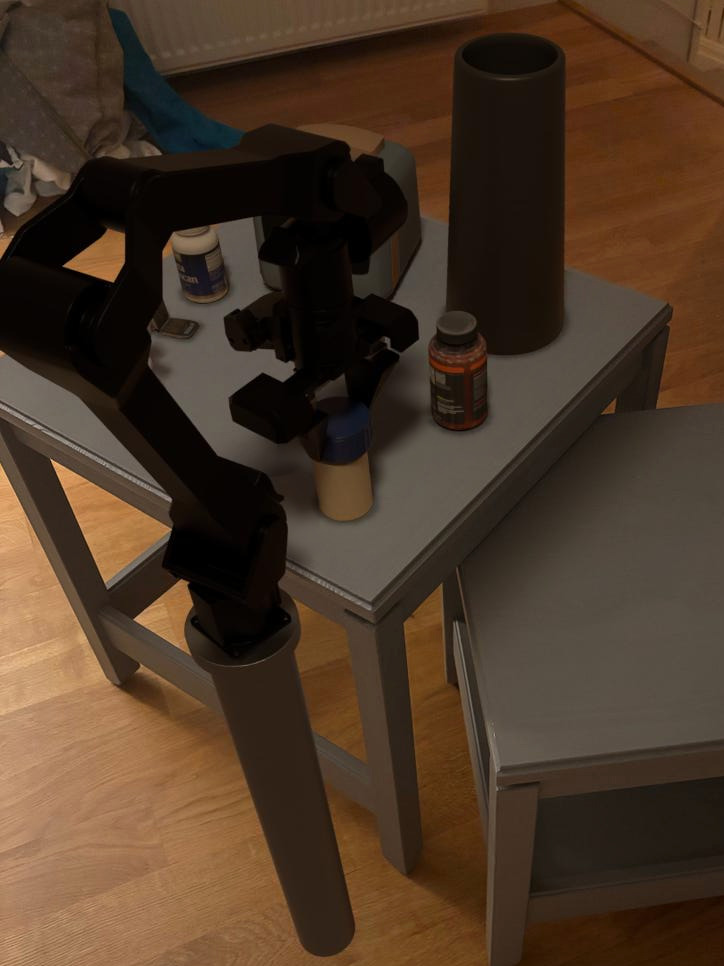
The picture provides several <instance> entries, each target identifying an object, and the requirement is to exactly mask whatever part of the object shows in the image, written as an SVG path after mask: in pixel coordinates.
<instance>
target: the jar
mask: <svg viewBox="0 0 724 966" xmlns="http://www.w3.org/2000/svg"><path fill="white" fill-rule="evenodd" d="M311 464H312V469H313V476H314V483H315V488H316V494H317V500H318V501H317V502H318V506H319V509H320V511H321V512H322V514H323V515H325V516H326V518H329V519H331V520H334V521H338V522H348V521H350V522H351V521H354V520H357V519H360V518H361V517H363V516H365V515H366V514H368V513H369V511H370V510H371V508H372V506H373V492H372V483H371V473H370V463H369V455H368V451H367V452H366V453H365V454H364V455H363V456H361V457H359V458H357V459H355V460H352V461H349V462H343V463H332V462H326V461H323V460H322V461H320V462H316V461H314V460H312V459H311Z"/></svg>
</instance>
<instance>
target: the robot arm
mask: <svg viewBox="0 0 724 966" xmlns="http://www.w3.org/2000/svg"><path fill="white" fill-rule="evenodd" d="M350 151H351V148H350V146H349V144H347V143H346V142H345V141H341V140H337V139H333V138H329V137H325V136H321V135H317V134H313V133H309V132H305V131H301V130H297V128H293V127H289V126H285V125H282V124H277V123H273V122H271V123H266V124H264V125H261V126H259V127H257V128H256V127H255V128H254V129H252V130H249V131H247V132H244V133H243V134H242V135H241V136H240V138H239V141H238V144H236V145H234V146H231V147H229V148H217V149H208V150H198V151H197V150H196V151H187V152H177V153H168V154H167V153H165V154H156V155H145V156H135V157H125V158H119V157H114V156H110V155H103V156H100V157H93V158H90V159H87V161H85V162H84V164H83V165H82V166H81V167H80V168H79V170H78V171H77V174H76V175H75V177H74V179H73V180H72V182H71V184H70V185H69V187H68V188H67V191H66V192H65V193H64V194H62V195H61V196H60V197H58V198H57V199H56V200H54V201H53V202H51V203H50V204H49V205H47V206H46V207H45V208H43V209H42V210H41V211H40V212H38V213H37V214H36V215H34V216H33V217H31V218H30V219H29V220H27V221H26V222H24V223H23V224H21V226H20V227H19V228H18V229H17V230H16V232H15V234H14V235H13V237H12V239H11V240H10V242H9V244H8V245H7V247H6V249H5V250H4V252H3V254H2V255H1V257H0V351H1V352H2V354H3V353H4V354H5V355H6V356H8V357H9V358H11V359H12V360H13V361H15V362H16V363H18V364H20V365H21V366H23V367H24V368H26V369H27V370H29V371H31V372H32V373H33V374H36V375H37V376H40V377H42V378H43V379H45V380H47V381H48V382H50V383H52V384H54V385H56V386H59V387H60V388H62V389H64V390H65V391H68V392H70V393H71V394H72V395H74V396H75V397H77V398H78V399H79V400H80V401H81V402H82V403H83V404H84V405H85V406H86V408H87V409H89V411H91V413H92V414H93V415H94V416H95V417H96V418H97V419H98V420H99V421H100V422H101V424H102V425H103V426H104V427H105V428H106V429H107V430H108V431H109V432H110V433H111V434H112V436H113V437H114V438H115V439H116V440H117V441H118V442H119V443H120V444H121V445H122V446H123V447H124V449H126V450H127V452H128V453H129V454H130V455H131V456H132V457H133V458H134V459H135V460H136V462H137V463H138V464H139V465H140V466H141V467H142V468H143V469H144V470H145V471H146V472H147V473H148V474H149V476H150V477H152V479H153V481H155V482H156V483H157V484H158V485H159V487H161V489H162V490H163V491H164V492H165V493H166V494H167V495H168V496H169V497H170V499H171V500H170V504H169V508H168V512H167V513H168V517H169V519H170V521H171V522H172V526H171V531H170V534H169V538H168V541H167V545H166V548H165V551H164V555H163V558H162V562H161V568H162V569H163V570H164V571H165V572H166V573H167V574H168V575H169V576H170V577H172V578H174V579H179V580H182V581H184V582H187V585H186V587H187V589H188V592H189V596H190V599H191V602H192V606H193V605H194V608H195V611H196V615H195V616H193V617H192V618H191V620H190V622H191V625H192V626H193V627H194V628H195V629H196V630H197V631H199V632H200V633H201V634H202V635H203V636H204V637H206V638H207V639H208V640H209V641H210V642H211V643H213V644H214V645H215V646H216V647H217V648H218V649H220V650H221V651H222V652H223V653H224V654H226V655H227V656H228V657H229V658H230V659H231V660H233V661H239V660H241V659H242V658H243V657H245V656H246V655H247V654H249V653H250V652H252V651H253V650H254V649H256V648H257V647H258V646H260V645H261V644H262V643H264V642H265V641H267V640H268V639H269V638H271V637H272V636H273V635H275V634H276V633H277V632H279V631H280V630H282V629H283V628H284V627H286V626H287V625H288V624H290V623H291V621H292V619H291V616H290V614H288V613H287V612H286V611H285V610H283V609H282V608H281V607H280V606H279V605H280V604H281V603H282V599H281V594H280V590H279V587H280V586H279V582H281V580H282V578H283V577H284V576H285V575H286V570H287V556H288V554H287V553H288V541H289V539H288V538H289V525H288V516H287V513H286V512H287V511H286V510H285V507H284V505H283V504H282V502H283V501H284V500H285V498H286V496H285V494H284V495H283V494H280V493H279V492H278V491H277V490H276V488H275V486H274V484H273V482H272V479H271V477H269V476H268V475H267V473H265V472H264V471H262V470H260V469H257V468H253V467H250V466H248V465H246V464H243V463H240V462H237V461H234V460H231V459H230V458H226V457H223V456H220V455H218V453H216V451H215V450H214V448H213V447H212V446H211V445H210V443H209V442H208V441H207V439H206V438H205V437H204V435H203V434H202V433H201V432H200V430H199V429H198V428H197V426H196V425H195V424H194V423H193V421H192V420H191V419H190V418H189V416H188V415H187V413H186V412H185V411H184V410H183V409H182V407H181V406H180V405H179V403H178V402H177V401H176V399H175V398H174V397H173V395H172V394H171V393H170V392H169V390H168V389H167V388H166V386H165V385H164V384H163V383H162V380H160V378H159V377H158V376H157V375H156V374H155V372H154V371H153V369H152V370H151V368H150V367H149V365H148V361H149V356H150V355H151V349H152V343H153V340H152V335H151V336H150V333H149V331H148V329H147V327H148V326H149V324H150V322H151V320H152V318H153V316H154V315H155V313H156V311H157V309H158V307H159V306H160V304H161V302H162V298H163V299H164V269H163V268H164V266H163V263H164V260H163V259H164V257H163V255H164V250H165V248H166V246H167V245H168V242H169V240H171V235H172V234H173V232H177V231H183V230H188V229H193V228H199V227H204V226H215V225H219V224H220V225H221V224H224V223H231V222H235V221H236V222H237V221H240V220H246V219H251V218H252V219H253V217H257V216H262V215H268V214H273V215H280V216H285V217H290V219H289V220H288V221H286V222H285V223H284V224H283V225H282V226H281V227H280V226H276V225H274V226H273V227H272V230H271V233H270V235H269V237H268V238H267V239H266V240H265V241H264V242H263V243H262V245H261V247H260V250H259V252H257V259H259V260H260V261H263V262H267V263H270V264H273V265H277V266H278V270H279V276H280V282H281V288H282V290H281V291H272V292H268V293H265V294H263V295H262V296H260V297H259V298H257V299H255V300H254V301H252V302H251V303H250V304H248V305H246V306H245V307H243V308H242V309H240V308H235V309H234V310H231V311H230V312H229V313H227V314H226V315H224V316H222V317H223V318H222V319H223V327H224V332H225V336H226V339H227V341H228V343H229V345H230V347H231V348H232V349H233V350H234V351H236V352H243V353H252V352H253V351H254V352H256V351H257V350H269V351H270V350H272V351H274V355H275V359H276V360H278V361H280V362H282V363H284V364H288V363H289V362H292V363H293V364H294V367H293V369H292V371H293V374H292V375H290V376H289V377H288V378H286V379H285V380H284V381H282V380H280V379H277V378H275V377H273V376H271V375H269V374H267V373H265V372H261V373H259V374H258V375H257V376H255V377H254V378H253V379H251V380H250V381H249V382H247V383H246V384H244V385H243V386H242V387H240V388H238V389H237V390H236V391H234V393H232V394H231V395H230V396H229V397H227V398H228V409H229V412H230V416H231V420H232V422H233V423H235V424H237V425H238V426H240V427H243V428H244V429H246V430H248V431H250V432H252V433H254V434H256V435H258V436H260V437H262V438H264V439H266V440H267V441H269V442H272V443H274V444H276V445H277V446H278V445H286V444H287V445H288V444H289V443H291V442H292V441H293V440H294V439H297V441H298V442H299V444H300V445H301V447H302V448H303V450H304V451H305V453H306V454H307V455H308V457H309V459H311V461H312V460H314V461H316V462H320V461H322V457H323V454H324V449H325V441H326V433H327V426H328V418H329V414H327V413H325V412H323V411H321V410H319V409H317V408H316V402H317V396H316V394H317V393H318V392H320V391H321V390H323V389H324V388H325V387H326V386H327V385H329V384H330V383H332V382H335V381H337V380H338V379H339V378H340V377H341V376H344V382H345V388H346V394H347V397H351V398H354V399H357V400H359V401H361V402H362V403H363V404H365V405H366V407H367V408H368V410H369V412H370V414H371V413H372V411H373V409H374V407H375V405H376V402H377V400H378V398H379V396H380V395H381V392H382V390H383V388H384V387H385V385H386V383H387V381H388V379H389V377H390V375H391V373H392V371H393V370H394V368H395V366H396V365H397V364H399V362H400V359H401V356H400V354H403V353H404V352H406V350H408V349H409V348H410V347H412V346H413V345H414V344H415V343H417V342H418V341H419V340H420V327H419V325H420V324H419V320H418V317H417V316H416V315H415V313H414V312H413V310H411V309H410V308H408V307H405V306H403V305H401V304H399V303H397V302H393V301H391V300H389V299H388V298H386V299H384V298H382V297H379V296H377V295H375V294H372V293H371V294H370V295H368V296H367V297H365V298H364V299H362V298H359V297H357V296H355V295H354V290H353V280H352V270H351V263H357V264H358V263H362V262H364V261H366V260H368V259H369V258H370V257H371V256H372V255H373V254H374V253H375V252H376V251H377V250H378V249H379V248H380V247H381V246H382V245H383V244H384V243H385V242H386V241H388V240H389V239H390V238H391V237H392V236H393V235H394V234H395V233H396V232H397V231H398V230H399V229H400V228H401V227H402V226H403V224H404V223H405V222H406V219H407V216H408V202H407V200H406V199H405V197H404V194H403V192H402V190H401V188H400V187H399V185H398V184H397V183H396V181H395V180H394V179H393V178H392V177H391V176H390V175H389V174H387V173H386V172H385V171H384V159H383V158H380V157H376V156H372V155H368V154H364V153H362V154H361V155H360V156H359V157H358V158H356V159H355V161H352V160H351V155H350ZM108 230H110V231H114V232H118V233H120V234H124V262H123V265H122V266H121V268H120V270H119V272H118V274H117V275H116V277H115V279H114V280H113V281H110V280H107V279H104V278H102V277H98V276H94V275H91V274H88V273H85V272H82V271H79V270H75V269H73V268H69V267H67V266H65V265H67V264H68V263H69V262H71V260H73V259H74V258H76V257H77V256H78V255H80V254H81V253H82V252H84V251H86V250H87V249H88V248H89V247H91V246H92V245H93V244H95V243H96V242H97V241H99V240H100V239H101V238H103V236H104V235H105V234H106V233H107V231H108ZM259 260H258V261H259ZM386 338H387V339H388V340H389V344H390V345H389V347H390V349H389V348H388V343H387V342H386ZM391 349H392V350H391ZM393 350H394V351H393ZM285 618H287V619H286V620H284V619H285ZM195 621H198V622H195ZM236 654H238V655H237V656H234V655H236Z"/></svg>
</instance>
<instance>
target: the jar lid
mask: <svg viewBox="0 0 724 966" xmlns="http://www.w3.org/2000/svg"><path fill="white" fill-rule="evenodd" d="M315 402H316V408H317V409H319V410H321V411H323V412H325V413H327V414H329V418H328V426H327V433H326V441H325V449H324V454H323V457H322V460H323V461H326V462H332V463H343V462H349V461H352V460H355V459H357V458H359V457H361V456H363V455H364V454H365V453H366V452H367V453H368V452H369V450H370V449H371V447H372V445H373V442H374V439H373V437H374V432H373V423H372V422H373V421H372V417H371V413H370V412H369V410H368V408H367V407H366V405H365V404H363V403H362V402H361V401H359V400H357V399H354V398H351V397H348V396H344V395H343V396H341V395H338V396H337V395H335V396H329V397H325V398H322V399H319V400H316V401H315Z"/></svg>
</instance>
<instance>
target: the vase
mask: <svg viewBox="0 0 724 966" xmlns="http://www.w3.org/2000/svg"><path fill="white" fill-rule="evenodd" d="M566 59H567V57H566V53H565V51H564V50H563V49H562V47H560V46H559V45H558V44H557V43H555V42H554V41H552V40H551V39H548V38H545V37H542V36H540V35H535V34H531V33H524V32H511V31H510V32H495V33H487V34H482V35H479V36H476V37H473V38H470V39H468V40H466V41H465V42H464V43H462V44H461V45H460V46H459V47H457V49H456V51H455V53H454V57H453V71H452V78H453V79H452V100H451V101H452V104H451V105H452V107H451V136H450V161H449V162H450V165H449V166H450V169H449V195H448V198H449V199H448V200H449V201H448V225H447V226H448V228H447V231H448V232H447V256H446V257H447V261H446V265H447V266H446V288H445V289H446V290H445V291H446V294H445V295H446V296H445V303H446V304H445V313H448V312H451V311H463V312H467V313H469V314H471V315H473V316H474V318H475V319H476V321H477V330H478V333H479V334H481V335H482V336H483V338H484V340H485V342H486V345H487V354H491V355H498V356H499V355H501V356H511V355H521V354H526V353H530V352H534V351H537V350H539V349H541V348H543V347H545V346H547V345H549V344H550V343H551V342H553V341H555V339H556V338H557V337H558V336H559V335H560V333H561V331H563V330H562V329H563V327H564V322H565V321H564V320H565V264H566V263H565V262H566V261H565V260H566V259H565V252H566V249H565V248H566V247H565V243H566V238H565V235H566V234H565V233H566V226H565V225H566V206H565V205H566V204H565V203H566V126H567V125H566V117H567V116H566V115H567V114H566V113H567V111H566V104H567V102H566V101H567V100H566V96H567V95H566V94H567V93H566V91H567V84H566V82H567V81H566V80H567V69H566V65H567V64H566V63H567V62H566V61H567V60H566Z"/></svg>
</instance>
